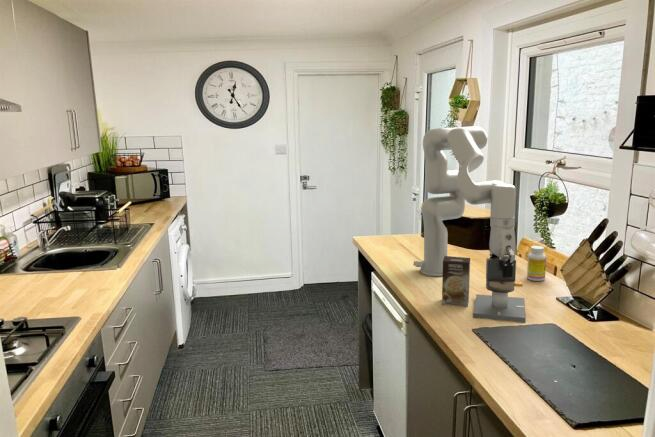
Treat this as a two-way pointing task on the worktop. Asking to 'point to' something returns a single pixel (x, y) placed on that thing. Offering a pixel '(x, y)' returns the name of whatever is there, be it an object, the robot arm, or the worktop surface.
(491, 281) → the rotary knob
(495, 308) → the post base
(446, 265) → the coffee box
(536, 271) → the supplement bottle
